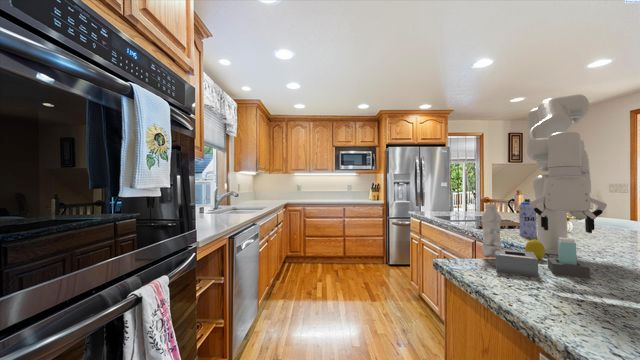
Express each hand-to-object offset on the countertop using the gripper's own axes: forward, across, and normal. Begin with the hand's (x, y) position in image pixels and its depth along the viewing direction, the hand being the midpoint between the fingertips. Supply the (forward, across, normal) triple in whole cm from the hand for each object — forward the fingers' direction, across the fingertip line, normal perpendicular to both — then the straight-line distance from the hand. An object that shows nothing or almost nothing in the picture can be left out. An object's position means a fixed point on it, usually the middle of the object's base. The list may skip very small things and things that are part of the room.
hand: (566, 231), depth 82 cm
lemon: (+13, +6, -16) cm, 22 cm away
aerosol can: (+11, +2, -80) cm, 81 cm away
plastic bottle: (+13, +19, -14) cm, 27 cm away
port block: (+13, +13, +4) cm, 19 cm away
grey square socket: (+13, 0, -1) cm, 13 cm away
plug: (+12, 0, -1) cm, 12 cm away
